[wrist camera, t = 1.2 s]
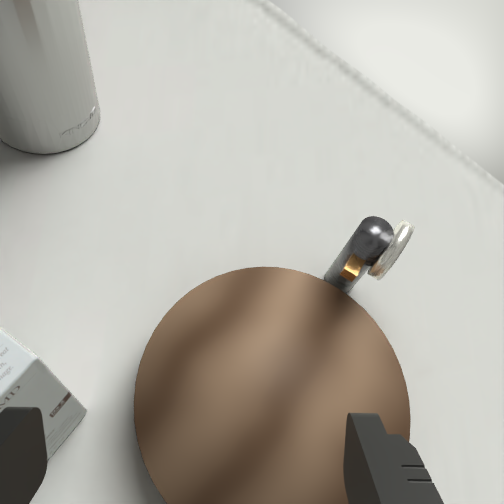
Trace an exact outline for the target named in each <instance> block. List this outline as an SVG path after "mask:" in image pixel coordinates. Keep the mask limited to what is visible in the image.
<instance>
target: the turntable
mask: <svg viewBox="0 0 504 504" xmlns="http://www.w3.org/2000/svg"><path fill="white" fill-rule="evenodd" d="M348 413H377V414H378V415H379V416H380V418H381V421H382V423H383V425H384V428H385V430H386V432H387V434H401V435H402V436H403V437H404V438H405V439H406V440H407V441H408V442H409V439H410V406H409V398H408V392H407V387H406V382H405V379H404V376H403V373H402V369H401V366H400V364H399V361H398V359H397V357H396V355H395V352H394V350H393V348H392V346H391V345H390V343H389V341H388V339H387V338H386V336H385V334H384V333H383V332H382V330H381V329H380V327H379V326H378V325H377V323H376V322H375V321H374V320H373V318H372V317H371V316H370V315H369V314H368V313H367V312H366V311H365V310H364V309H363V308H362V307H361V306H360V305H359V304H358V303H357V302H356V301H354V300H353V299H352V298H351V297H350V296H348V295H347V294H345V293H344V292H343V291H341V290H340V289H338V288H337V287H335V286H333V285H331V284H329V283H328V282H326V281H324V280H322V279H319V278H317V277H314V276H312V275H309V274H306V273H303V272H299V271H296V270H291V269H285V268H278V267H254V268H245V269H240V270H235V271H231V272H228V273H225V274H222V275H219V276H216V277H214V278H212V279H210V280H208V281H206V282H204V283H202V284H200V285H199V286H197V287H196V288H194V289H193V290H191V291H190V292H188V293H187V294H186V295H185V296H184V297H182V298H181V299H180V300H179V301H178V302H177V303H176V304H175V305H174V306H173V307H172V308H171V309H170V310H169V311H168V312H167V313H166V315H165V316H164V317H163V319H162V320H161V321H160V323H159V324H158V326H157V327H156V329H155V330H154V332H153V334H152V336H151V338H150V340H149V342H148V344H147V345H146V348H145V351H144V354H143V356H142V359H141V362H140V365H139V370H138V374H137V378H136V384H135V394H134V422H135V428H136V434H137V440H138V444H139V448H140V451H141V454H142V457H143V461H144V464H145V466H146V468H147V470H148V472H149V475H150V477H151V479H152V481H153V483H154V485H155V486H156V488H157V489H158V491H159V492H160V494H161V496H162V497H163V499H164V500H165V502H166V503H167V504H349V502H348V498H347V494H346V490H345V484H344V473H343V461H344V448H345V434H346V421H347V415H348Z"/></svg>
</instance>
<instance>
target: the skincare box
mask: <svg viewBox="0 0 504 504" xmlns="http://www.w3.org/2000/svg"><path fill="white" fill-rule="evenodd" d="M6 407H38V408H39V409H40V410H41V413H42V418H43V426H44V434H45V442H46V449H47V460H48V459H49V458H50V457H51V456H52V454H53V453H54V452H55V451H56V450H57V449H58V447H59V446H60V445H61V444H62V443H63V442H64V440H65V439H66V438H67V437H68V436H69V434H70V433H71V432H72V431H73V429H74V428H75V427H76V426H77V425H78V423H79V422H80V421H81V419H82V418H83V417H84V415H85V414H86V412H87V410H86V408H85V407H84V406H83V405H82V404H81V403H80V402H79V401H78V400H77V399H76V398H75V396H74V395H73V394H72V393H71V392H70V391H69V390H68V389H67V388H66V387H65V386H64V385H63V384H62V383H61V381H60V380H59V379H58V378H57V377H56V376H55V375H54V374H53V372H52V371H51V370H50V369H49V368H48V367H47V365H46V364H45V363H44V362H43V361H42V360H41V359H40V358H39V357H38V356H37V355H36V354H34V353H33V352H32V351H31V350H29V349H28V348H27V347H25V346H24V345H23V344H21V343H20V342H19V341H18V340H16V339H15V338H14V337H13V336H11V335H10V334H9V333H8V332H6V331H5V330H4V329H3V328H1V327H0V412H1V411H2V410H3V409H5V408H6Z"/></svg>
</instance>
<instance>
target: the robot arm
mask: <svg viewBox="0 0 504 504" xmlns="http://www.w3.org/2000/svg"><path fill="white" fill-rule="evenodd" d="M99 120H100V108H99V103H98V98H97V93H96V88H95V83H94V78H93V72H92V67H91V62H90V57H89V52H88V47H87V42H86V37H85V32H84V27H83V22H82V17H81V12H80V7H79V2H78V0H0V138H1V140H2V141H4V142H5V143H7V144H8V145H10V146H11V147H13V148H16V149H18V150H21V151H25V152H29V153H38V154H49V153H57V152H61V151H65V150H69V149H71V148H73V147H76V146H78V145H79V144H81V143H82V142H84V141H85V140H87V139H88V138H89V137H90V136H91V135H92V134H93V133H94V131H95V129H96V128H97V126H98V123H99ZM46 469H47V449H46V442H45V434H44V426H43V418H42V413H41V410H40V409H39V408H38V407H6V408H5V409H3V410H2V411H1V412H0V504H29V503H30V501H31V500H32V498H33V496H34V495H35V493H36V492H37V490H38V489H39V487H40V485H41V483H42V481H43V479H44V476H45V473H46ZM343 473H344V484H345V490H346V494H347V498H348V502H349V504H444V503H443V501H442V499H441V497H440V495H439V493H438V491H437V489H436V487H435V485H434V483H432V479H431V477H430V475H429V473H428V471H427V469H425V467H424V464H423V462H422V460H421V458H420V456H419V454H418V452H417V450H416V448H415V447H414V446H412V445H411V444H410V443H409V442H408V441H407V440H406V439H405V438H404V437H403V436H402V435H401V434H387V432H386V430H385V428H384V425H383V423H382V421H381V418H380V416H379V415H378V414H377V413H348V415H347V421H346V434H345V448H344V461H343Z"/></svg>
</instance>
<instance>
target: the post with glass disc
mask: <svg viewBox="0 0 504 504" xmlns="http://www.w3.org/2000/svg"><path fill="white" fill-rule="evenodd" d="M413 230H414V226H413V225H411V224H410V223H408V222H406V221H404V220H402V221H401V222H400V223H399V224H398V225H397V226H396V227H395V229H394V230H393V229H392V227H391V225H390V224H389V223H388V222H387V221H385V220H384V219H382V218H380V217H375V216H371V217H367V218H365V219H364V220H363V221H362V222H361V224H360V225H359V227H358V228H357V229H356V231H355V232H354V234H353V235H352V237H351V238H350V239H349V241H348V242H347V244H346V245H345V247H344V248H343V250H342V251H341V252H340V254H339V255H338V257H337V258H336V260H335V261H334V263H333V264H332V265H331V267H330V268H329V270H328V271H327V273H326V274H325V281H326V282H328V283H329V284H331V285H333V286H335V287H337V288H338V289H340V290H341V291H343V292H344V293H347V292H348V291H350V290H351V288H352V287H353V286H354V285H355V284H356V283H357V281H358V280H359V279H360V278H361V277H362V276H363V275H364V273H365V272H366V271H367V270H368V269H369V270H368V274H369V275H370V276H372V277H374V278H375V279H377V280H380V279H381V278H382V277H383V276H384V275H385V274H386V273H387V272H388V271H389V269H390V268H391V267H392V265H393V264H394V263H395V261H396V260H397V258H398V257H399V255H400V254H401V252H402V251H403V249H404V248H405V246H406V244H407V242H408V241H409V239H410V237H411V235H412V233H413Z"/></svg>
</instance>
